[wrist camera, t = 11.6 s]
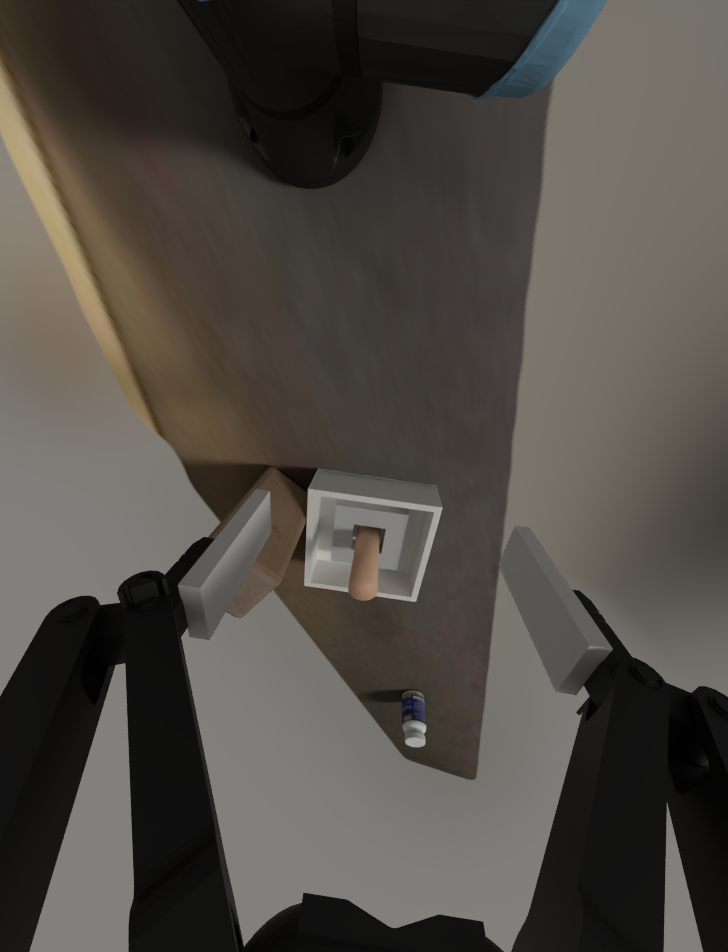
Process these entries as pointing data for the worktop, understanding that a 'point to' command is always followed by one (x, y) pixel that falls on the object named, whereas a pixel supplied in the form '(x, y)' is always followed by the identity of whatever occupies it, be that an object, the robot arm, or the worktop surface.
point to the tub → (375, 505)
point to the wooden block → (270, 538)
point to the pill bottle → (413, 718)
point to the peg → (365, 564)
